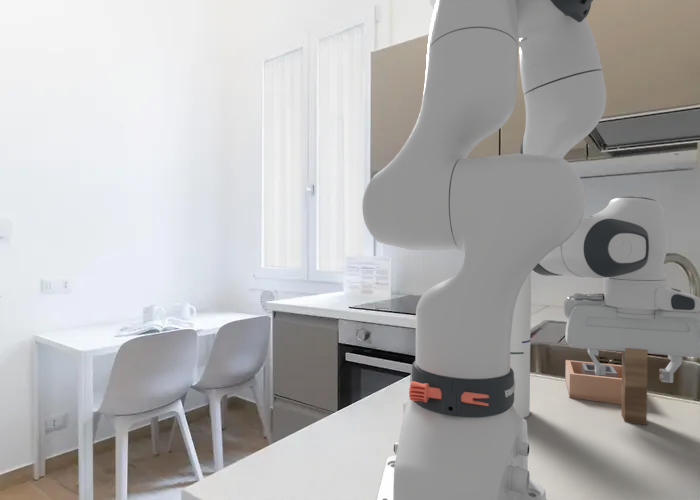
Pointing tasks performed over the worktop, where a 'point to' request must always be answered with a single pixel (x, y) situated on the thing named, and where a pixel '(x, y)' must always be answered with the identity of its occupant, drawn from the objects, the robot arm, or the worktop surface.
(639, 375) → the tall wooden post
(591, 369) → the pink planter box
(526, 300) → the cylindrical container
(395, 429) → the worktop surface
